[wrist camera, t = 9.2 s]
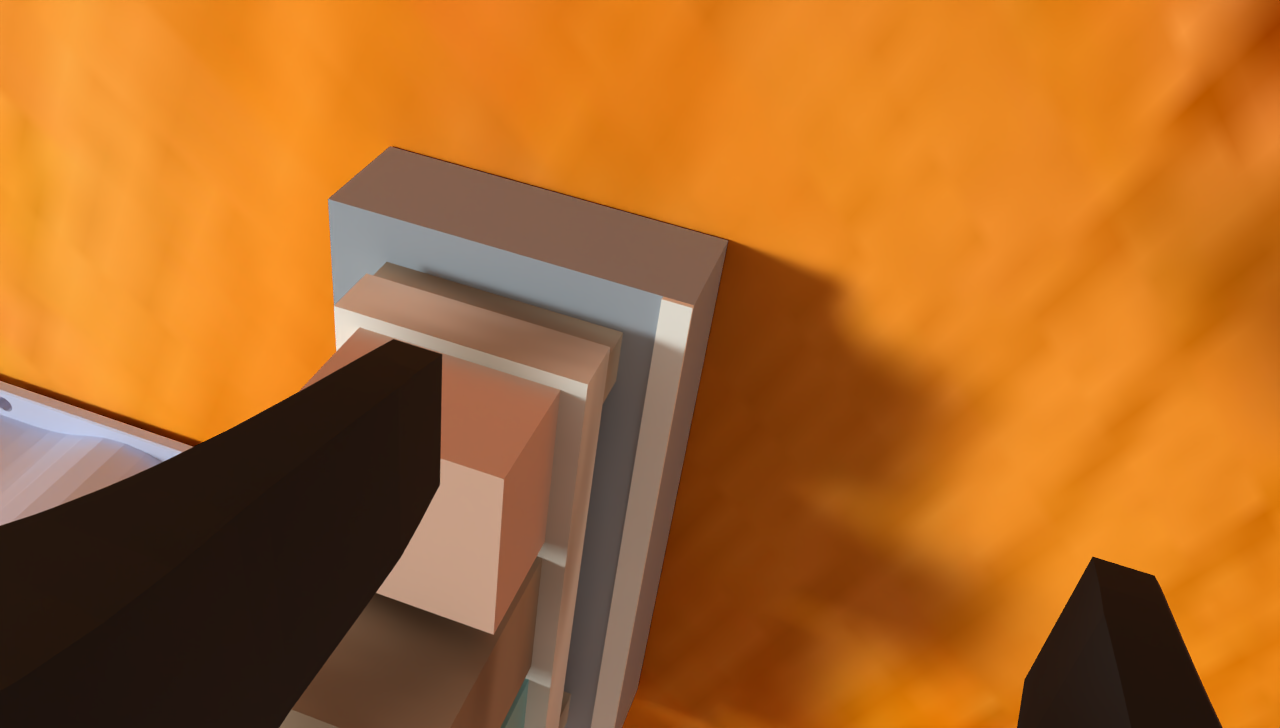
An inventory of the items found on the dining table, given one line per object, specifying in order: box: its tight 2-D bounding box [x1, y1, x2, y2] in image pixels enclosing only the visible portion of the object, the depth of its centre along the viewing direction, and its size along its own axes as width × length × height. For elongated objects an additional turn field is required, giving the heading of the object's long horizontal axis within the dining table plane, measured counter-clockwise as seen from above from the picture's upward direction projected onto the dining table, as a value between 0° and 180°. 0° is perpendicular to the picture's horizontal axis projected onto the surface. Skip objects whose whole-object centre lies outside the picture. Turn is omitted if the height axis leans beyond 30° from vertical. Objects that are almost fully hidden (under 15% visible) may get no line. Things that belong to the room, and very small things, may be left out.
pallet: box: [279, 262, 623, 728], centre depth 23 cm, size 5×13×7 cm, turn 173°
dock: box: [328, 146, 728, 728], centre depth 27 cm, size 8×15×3 cm, turn 173°
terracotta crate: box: [300, 327, 560, 635], centre depth 21 cm, size 4×4×2 cm
